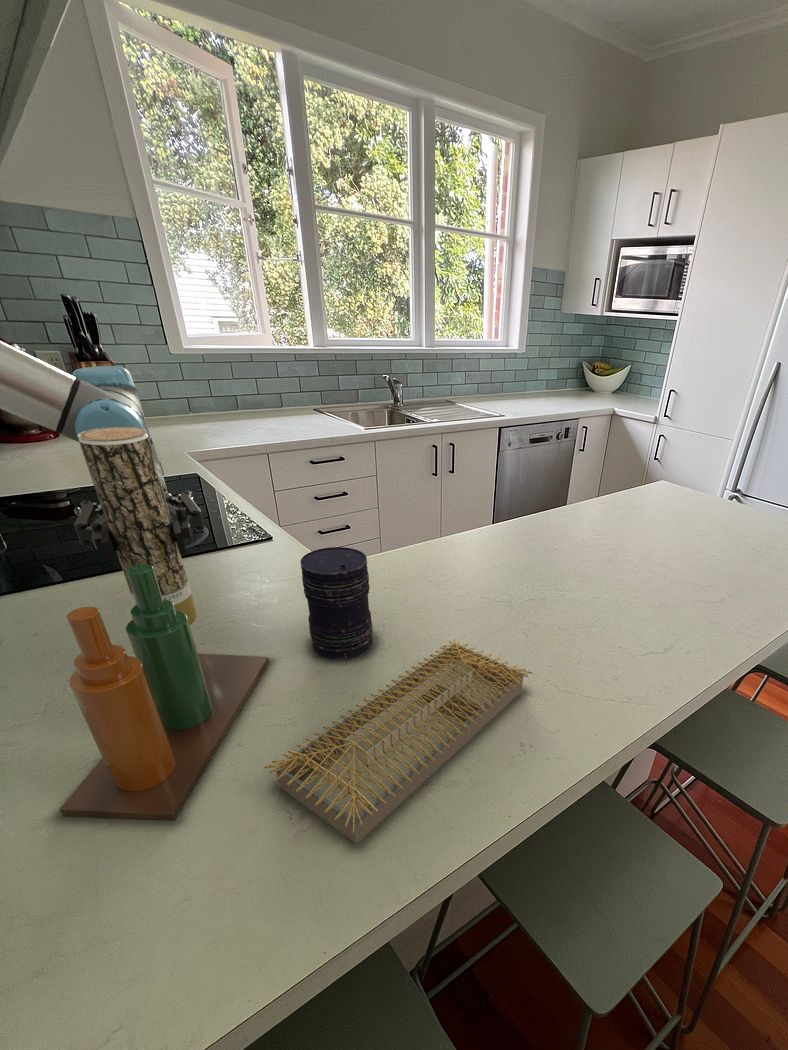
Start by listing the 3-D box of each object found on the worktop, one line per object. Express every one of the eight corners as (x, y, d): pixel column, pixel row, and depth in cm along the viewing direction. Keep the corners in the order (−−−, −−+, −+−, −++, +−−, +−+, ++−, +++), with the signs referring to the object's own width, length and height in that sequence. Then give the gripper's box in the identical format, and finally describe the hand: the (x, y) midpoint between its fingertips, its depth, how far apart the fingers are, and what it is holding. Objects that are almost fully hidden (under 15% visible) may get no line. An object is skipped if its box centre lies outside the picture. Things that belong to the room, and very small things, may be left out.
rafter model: (453, 656, 87) (454, 623, 84) (530, 691, 80) (534, 657, 77) (268, 788, 63) (259, 749, 59) (356, 854, 56) (351, 814, 53)
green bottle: (148, 729, 68) (92, 579, 57) (173, 697, 74) (126, 555, 63) (199, 731, 69) (153, 582, 57) (220, 699, 74) (182, 558, 63)
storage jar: (301, 639, 89) (288, 556, 81) (354, 622, 95) (347, 542, 87) (329, 668, 83) (318, 580, 75) (384, 647, 88) (380, 563, 80)
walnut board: (62, 815, 58) (58, 809, 58) (191, 658, 83) (189, 652, 83) (174, 820, 58) (172, 814, 58) (269, 661, 84) (268, 656, 83)
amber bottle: (101, 790, 60) (24, 629, 49) (133, 749, 65) (70, 595, 54) (159, 792, 60) (95, 632, 49) (186, 751, 66) (134, 598, 54)
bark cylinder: (206, 623, 75) (157, 434, 62) (155, 641, 71) (89, 443, 57) (184, 605, 79) (133, 424, 65) (134, 622, 74) (68, 431, 61)
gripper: (215, 508, 87) (240, 563, 70) (68, 525, 78) (56, 592, 62) (205, 460, 83) (228, 507, 66) (48, 473, 74) (30, 530, 58)
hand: (145, 548), depth 64 cm, fingers closed on bark cylinder, 7 cm apart
